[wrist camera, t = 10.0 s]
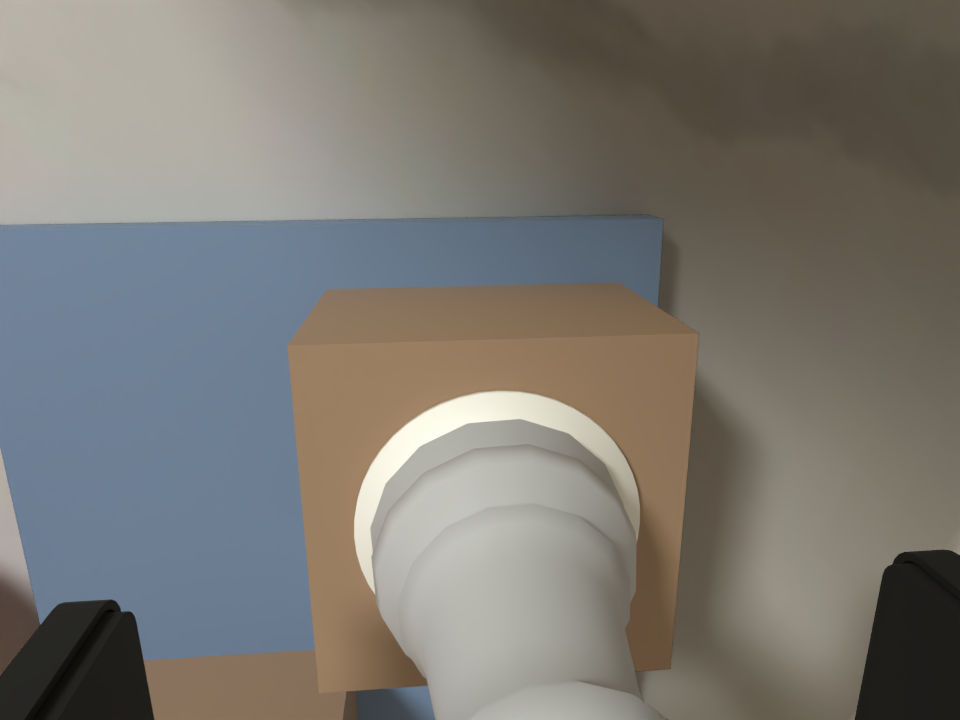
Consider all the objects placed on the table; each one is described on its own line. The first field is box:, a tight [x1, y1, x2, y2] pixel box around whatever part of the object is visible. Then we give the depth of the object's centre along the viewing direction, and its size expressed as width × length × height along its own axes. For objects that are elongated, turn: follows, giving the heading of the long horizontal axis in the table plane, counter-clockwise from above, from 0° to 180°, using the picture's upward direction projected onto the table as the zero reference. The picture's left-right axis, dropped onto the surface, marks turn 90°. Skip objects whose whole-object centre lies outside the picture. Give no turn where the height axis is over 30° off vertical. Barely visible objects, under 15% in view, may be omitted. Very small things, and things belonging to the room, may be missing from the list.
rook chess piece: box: [370, 419, 668, 720], centre depth 9 cm, size 4×4×8 cm
